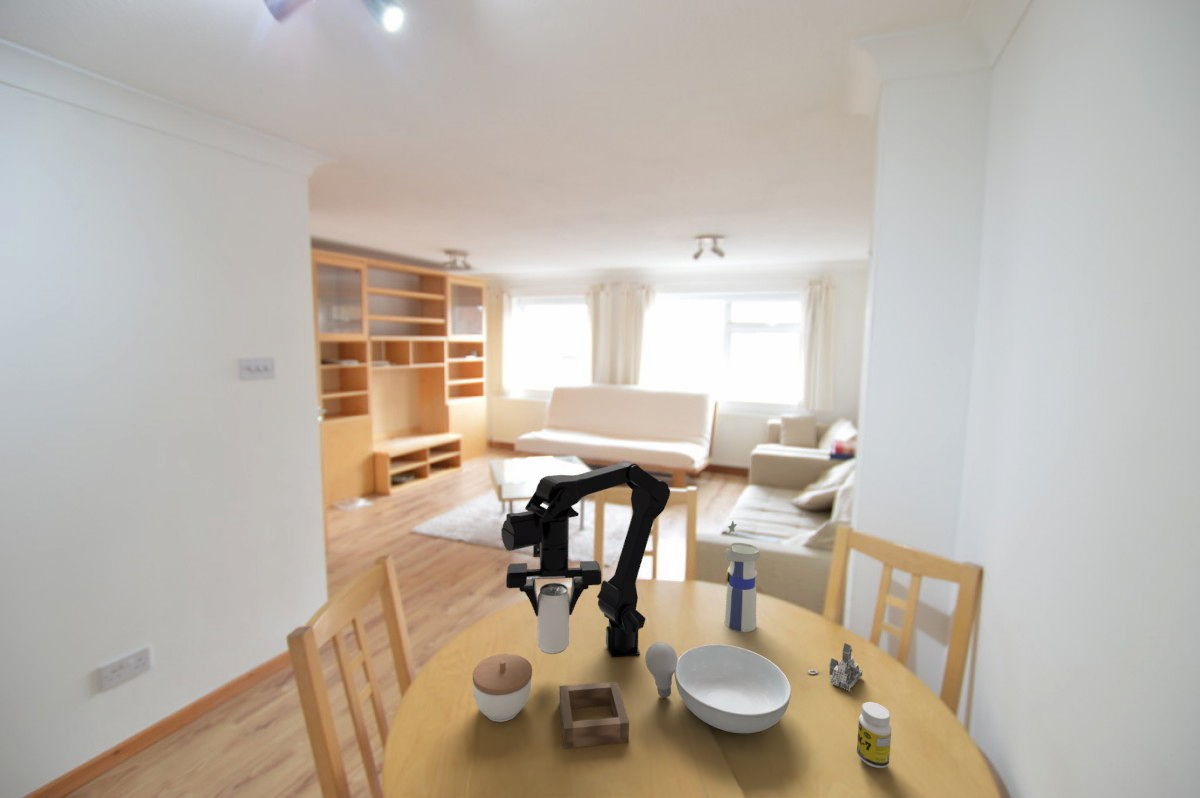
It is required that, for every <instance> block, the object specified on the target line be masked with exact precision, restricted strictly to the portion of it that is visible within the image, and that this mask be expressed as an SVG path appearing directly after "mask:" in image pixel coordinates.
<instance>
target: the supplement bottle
mask: <svg viewBox="0 0 1200 798" xmlns="http://www.w3.org/2000/svg"><path fill="white" fill-rule="evenodd" d="M890 718H891V713H890V711H889V710H888V709H887V708H886V707H885V706H883V705H881V704H879V703H877V702H871V701H868V702H864V703H862V707H861V714H860V715H859V717H858V727H857V742H856V753H857V755H858V757H859V759H860V760H861V761H863V763H865V764H867V765H868V766H870V767H872V768H877V769H884V768H886V767H888V766H889V764H890V756H891V743H892V742H891V741H892V740H891V739H892V726H891V724H890Z"/></svg>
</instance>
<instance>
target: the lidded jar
mask: <svg viewBox="0 0 1200 798" xmlns="http://www.w3.org/2000/svg"><path fill="white" fill-rule="evenodd" d="M532 676H533V668H532V664H531V662H530V661H529V660H528V659H527V658H526V657H524V656H521V655H518V654H513V653H500V654H496V655H492V656H489V657H487V658H485V659H483V660H481V661H480V662H479V663H478V664H477V665H476V666H475V668H474V669H473V671H472V684H473V685H472V686H473V688H472V689H473V695H474V696H473V697H474V699H475V704H476V705H477V708H478V710H479V711H480V712H481V713H482V714H483V715H484V716H486V717H487V719H489V720H490V721H491V722H495V723H504V722H507V721H508V722H509V721H511V720H512V719H514V718H515V717H516V716H518V714H519V713H520V712H521V711H522V710H523V708H524V707H525V706H526V704H527V702H528V700H529V698H530V694H531V687H532Z"/></svg>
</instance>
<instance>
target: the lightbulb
mask: <svg viewBox="0 0 1200 798" xmlns="http://www.w3.org/2000/svg"><path fill="white" fill-rule="evenodd" d="M644 660H645V661H644V662H645V666H646V668H647V669H648V671H649V673H650V674H651V675H652V677H653V678H654V683H655V685H656V689H657V694H658V696H659V697H661V698H665V699H666V698H669V697H670V696H671V694H672V683H673V681H672V680H673V674H675V673H674V671H675V669H676V667H677V661H678V655H677V652H676V650H675V649H674V648H673V646H672V645H670V644H669V643H667V642H663V641H656V642H654V643H652V644H651V645H650V646H649V647H648V648H647V650H646V653H645V658H644Z"/></svg>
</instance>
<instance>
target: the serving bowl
mask: <svg viewBox="0 0 1200 798" xmlns="http://www.w3.org/2000/svg"><path fill="white" fill-rule="evenodd" d="M677 660H678V661H677V667H676V669H675V671H674V673H673V674H674V678H675V679H674V681H675V685H676V687H677V688H676V689H677V691H678V695H680V698H681V700H682V702H683V703H684V705H685V706H686V707H687V708H688V709H689V711H691V713H693V715H695V716H696V717H697V718H698V719H700V720H701V721H702V722H704V723H706V724H708V725H709V726H710V727H711V726H712V727H714V728H716V729H720V730H722V731H724V732H725V731H726V732H728V733H729V732H730V733H735V734H754V733H758V732H761V731H765V730H767V729H770V728H771V727H773V726H774V725H776V724H777V723H778V722H780V720H781V719H782V718H783V716H785V713H786V712H787V710H788V707H789V704H790V700H791V696H792V687H791V683H790V682H789V679H788V678H787V675H786V674H785V673H784V672H783V670H781V668H779V667H778V665H776V664H775V663H774V662H772V661H771V660H769V659H768V658H766V657H765V656H763V655H761V654H759V653H756V652H754V651H752V650H748V649H746V648H743V647H739V646H735V645H729V644H718V643H717V644H713V643H712V644H704V645H698V646H695V647H692V648H690V649H688V650H686V651H684V652H683V653H681V655H680V656H679V657H677Z"/></svg>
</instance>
